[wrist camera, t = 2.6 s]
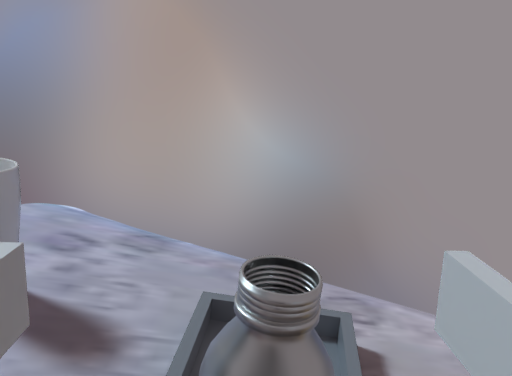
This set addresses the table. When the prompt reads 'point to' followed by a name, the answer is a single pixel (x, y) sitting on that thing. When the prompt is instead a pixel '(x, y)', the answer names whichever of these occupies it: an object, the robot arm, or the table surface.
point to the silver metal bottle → (272, 323)
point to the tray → (222, 311)
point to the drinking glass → (9, 201)
